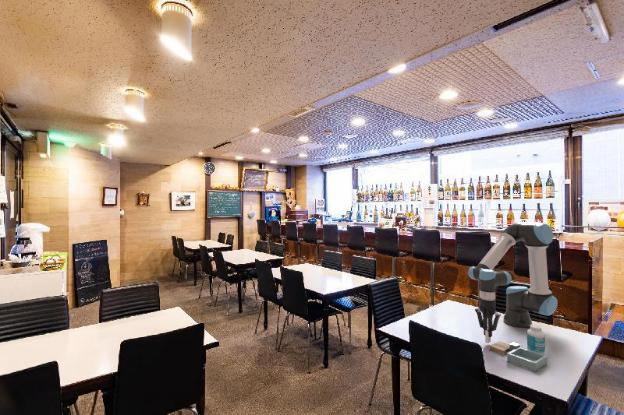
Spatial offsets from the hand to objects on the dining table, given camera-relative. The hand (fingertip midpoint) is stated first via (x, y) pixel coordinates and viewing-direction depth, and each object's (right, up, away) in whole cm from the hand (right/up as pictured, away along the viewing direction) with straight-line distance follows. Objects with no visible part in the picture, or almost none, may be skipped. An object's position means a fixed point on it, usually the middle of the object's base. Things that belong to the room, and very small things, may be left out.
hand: (488, 342), depth 169 cm
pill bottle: (+19, -1, -10) cm, 21 cm away
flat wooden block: (+4, -2, -6) cm, 7 cm away
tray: (+7, -1, -20) cm, 21 cm away
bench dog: (+7, -1, -11) cm, 13 cm away
